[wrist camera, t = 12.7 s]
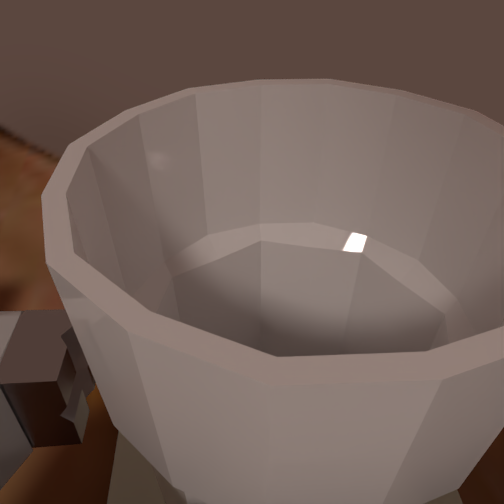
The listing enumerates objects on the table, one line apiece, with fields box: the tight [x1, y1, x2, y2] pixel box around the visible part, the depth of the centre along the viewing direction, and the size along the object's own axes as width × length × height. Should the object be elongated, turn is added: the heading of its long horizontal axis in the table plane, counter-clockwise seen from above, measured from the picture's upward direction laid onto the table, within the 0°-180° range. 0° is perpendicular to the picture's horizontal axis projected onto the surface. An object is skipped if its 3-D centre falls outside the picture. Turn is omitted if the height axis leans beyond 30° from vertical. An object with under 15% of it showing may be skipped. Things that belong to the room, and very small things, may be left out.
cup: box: [41, 79, 504, 504], centre depth 10 cm, size 7×7×11 cm
